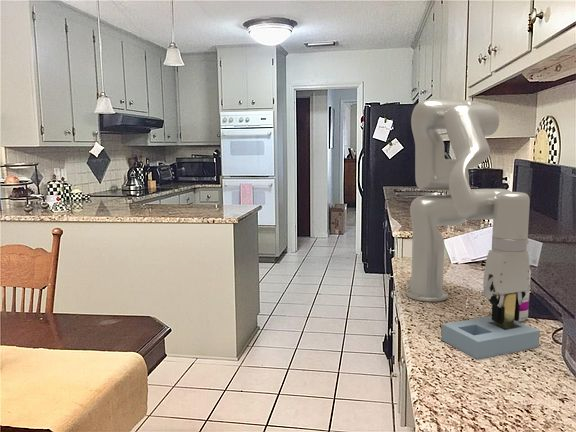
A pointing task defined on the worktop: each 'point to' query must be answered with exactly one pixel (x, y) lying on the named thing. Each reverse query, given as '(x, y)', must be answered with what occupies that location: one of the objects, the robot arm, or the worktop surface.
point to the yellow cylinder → (508, 311)
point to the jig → (489, 337)
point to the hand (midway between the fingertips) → (505, 319)
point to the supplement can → (524, 304)
